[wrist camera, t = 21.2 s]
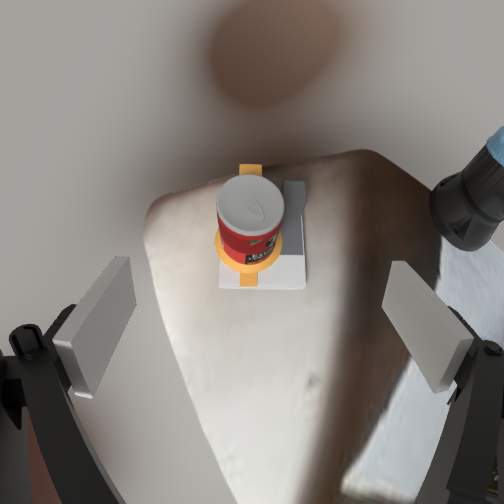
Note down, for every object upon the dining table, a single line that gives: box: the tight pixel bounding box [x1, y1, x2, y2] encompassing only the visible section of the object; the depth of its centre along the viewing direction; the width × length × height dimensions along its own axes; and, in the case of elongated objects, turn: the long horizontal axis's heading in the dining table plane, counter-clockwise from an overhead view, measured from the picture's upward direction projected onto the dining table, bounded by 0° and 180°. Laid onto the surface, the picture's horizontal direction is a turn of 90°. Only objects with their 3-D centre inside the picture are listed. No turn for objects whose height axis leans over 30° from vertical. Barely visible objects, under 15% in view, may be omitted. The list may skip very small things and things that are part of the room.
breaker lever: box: [239, 164, 262, 176], centre depth 45 cm, size 3×3×7 cm
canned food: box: [216, 174, 284, 265], centre depth 41 cm, size 8×8×11 cm
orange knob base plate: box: [215, 180, 307, 289], centre depth 44 cm, size 13×14×8 cm
